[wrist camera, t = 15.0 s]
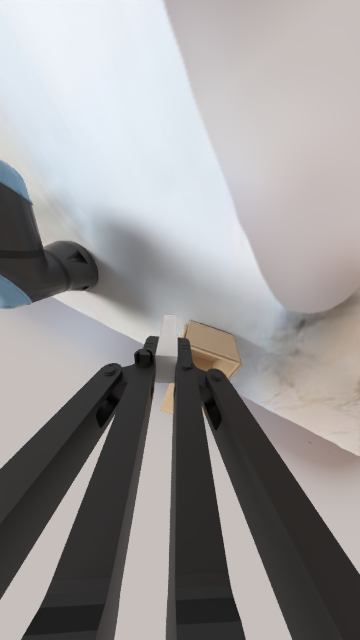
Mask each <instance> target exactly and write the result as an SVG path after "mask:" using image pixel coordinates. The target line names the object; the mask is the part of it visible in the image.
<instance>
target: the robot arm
mask: <svg viewBox="0 0 360 640" xmlns="http://www.w3.org/2000/svg"><path fill="white" fill-rule="evenodd" d="M32 205H33V203H32V201H31V200H30V198H29V195H28V192H27V189H26V185H25V182H24V180H23V178H22V177H21V176H20V174H19V173H18V172H17V171H16V170H15V169H14V168H12V167H11V166H10V165H8V164H7V163H5V162H4V161H2V160H0V308H1V309H13V308H17V307H20V306H24V305H30V304H31V303H33V302H36V301H39V300H42V299H44V298H48V297H50V296H53V295H56V294H59V293H62V292H65V291H85V290H88V289H90V288H93V287H94V286H95V285H96V283H97V280H98V271H97V267H96V265H95V262H94V261H93V259H92V257H91V256H90V254H89V253H88V252H87V251H86V250H85V249H84V248H83V247H81V246H80V245H78V244H77V243H74V242H72V241H56V242H54V243H51V244H49V245H47V246H45V247H43V245H42V242H41V238H40V234H39V231H38V227H37V223H36V219H35V216H34V212H33V208H32ZM134 357H135V364H133V365H130V366H126V367H121V366H120V365H119V364H117V363H112V364H108V365H105V366H104V367H102V368H101V369H100V370H99V371H98V372H97V373H96V374H95V375H94V376H93V377H92V378H91V379H90V380H89V381H88V382H87V383H86V384H85V385H84V386H83V387H82V388H81V389H80V390H79V391H78V392H77V393H76V394H75V395H74V396H73V397H72V398H71V399H70V400H69V401H68V402H67V403H66V404H65V405H64V406H63V407H62V408H61V409H60V410H59V411H58V412H57V413H56V414H55V415H54V416H53V417H52V418H51V419H50V420H49V421H48V422H47V423H46V424H45V425H44V426H43V427H42V428H41V429H40V430H39V431H38V432H37V433H36V434H35V435H34V436H33V437H32V438H31V439H30V440H29V441H28V442H27V443H26V444H25V445H24V446H23V447H22V448H21V449H20V450H19V451H18V452H17V453H16V454H15V455H14V456H13V457H12V458H11V459H10V460H9V461H8V462H7V463H6V464H5V465H4V466H3V467H2V468H1V469H0V599H1V598H2V596H3V594H4V593H5V591H6V590H7V588H8V586H9V585H10V583H11V581H12V580H13V578H14V577H15V575H16V573H17V572H18V570H19V569H20V567H21V565H22V564H23V562H24V560H25V559H26V557H27V556H28V554H29V552H30V551H31V549H32V548H33V546H34V544H35V543H36V541H37V539H38V538H39V536H40V535H41V533H42V531H43V530H44V528H45V526H46V525H47V523H48V522H49V520H50V518H51V517H52V515H53V514H54V512H55V510H56V509H57V507H58V505H59V504H60V502H61V500H62V499H63V497H64V496H65V494H66V493H67V491H68V489H69V488H70V486H71V484H72V483H73V481H74V480H75V478H76V476H77V475H78V473H79V472H80V470H81V468H82V467H83V465H84V463H85V462H86V460H87V459H88V457H89V455H90V454H91V452H92V451H93V449H94V447H95V446H96V444H97V442H98V441H99V439H100V437H101V436H102V434H103V433H104V431H105V430H106V428H107V426H108V425H109V423H110V421H111V420H112V418H113V417H114V415H115V417H114V420H113V422H112V425H111V427H110V430H109V432H108V435H107V438H106V440H105V443H104V445H103V448H102V451H101V453H100V456H99V458H98V461H97V464H96V467H95V469H94V472H93V474H92V477H91V479H90V482H89V485H88V487H87V490H86V493H85V495H84V498H83V500H82V503H81V506H80V508H79V511H78V513H77V516H76V518H75V521H74V524H73V526H72V529H71V532H70V534H69V537H68V539H67V542H66V544H65V547H64V550H63V552H62V555H61V558H60V560H59V563H58V565H57V568H56V571H55V573H54V576H53V578H52V581H51V583H50V586H49V588H48V591H47V593H46V596H45V598H44V600H43V602H42V604H41V606H40V608H39V610H38V611H37V613H36V615H35V616H34V618H33V620H32V622H31V623H30V625H29V627H28V628H27V630H26V632H25V634H24V635H23V637H22V639H21V640H114V636H115V630H116V623H117V616H118V609H119V598H120V591H121V584H122V578H123V572H124V565H125V560H126V554H127V548H128V542H129V536H130V529H131V524H132V518H133V511H134V506H135V500H136V494H137V488H138V482H139V476H140V471H141V465H142V458H143V453H144V447H145V440H146V435H147V429H148V423H149V417H150V411H151V405H152V399H153V393H154V382H159V383H160V382H161V383H174V393H173V397H174V401H173V436H172V472H171V473H172V475H171V508H170V545H169V580H168V600H167V618H166V640H246V639H245V635H244V631H243V627H242V623H241V619H240V616H239V613H238V610H237V607H236V604H235V601H234V598H233V593H232V589H231V585H230V579H229V574H228V568H227V562H226V555H225V549H224V543H223V537H222V531H221V524H220V518H219V512H218V505H217V499H216V493H215V487H214V480H213V474H212V467H211V461H210V455H209V449H208V442H207V436H206V430H205V423H204V417H203V411H202V408H203V410H204V413H205V415H206V418H207V420H208V423H209V426H210V428H211V431H212V433H213V436H214V439H215V441H216V444H217V446H218V449H219V451H220V454H221V457H222V459H223V462H224V464H225V467H226V470H227V472H228V474H229V477H230V480H231V482H232V485H233V488H234V490H235V493H236V495H237V498H238V500H239V503H240V505H241V508H242V511H243V513H244V516H245V519H246V521H247V524H248V526H249V529H250V531H251V534H252V536H253V539H254V542H255V544H256V547H257V550H258V552H259V555H260V557H261V560H262V562H263V565H264V568H265V570H266V573H267V575H268V578H269V581H270V583H271V586H272V588H273V591H274V593H275V596H276V599H277V601H278V604H279V606H280V609H281V611H282V614H283V617H284V619H285V622H286V624H287V627H288V630H289V632H290V635H291V637H292V640H360V574H359V573H358V571H357V570H356V568H355V567H354V565H353V564H352V562H351V561H350V559H349V558H348V556H347V555H346V554H345V552H344V551H343V549H342V548H341V546H340V545H339V543H338V542H337V540H336V539H335V537H334V536H333V534H332V533H331V531H330V530H329V528H328V527H327V525H326V524H325V522H324V521H323V519H322V518H321V517H320V515H319V513H318V512H317V510H316V509H315V507H314V506H313V504H312V503H311V501H310V500H309V498H308V497H307V496H306V494H305V493H304V491H303V490H302V488H301V487H300V485H299V484H298V482H297V481H296V479H295V478H294V476H293V475H292V473H291V472H290V471H289V469H288V467H287V466H286V464H285V463H284V461H283V460H282V458H281V457H280V455H279V454H278V452H277V451H276V449H275V448H274V446H273V445H272V444H271V442H270V441H269V439H268V438H267V436H266V435H265V433H264V432H263V430H262V429H261V427H260V426H259V424H258V423H257V421H256V420H255V418H254V417H253V415H252V414H251V412H250V411H249V409H248V408H247V406H246V405H245V403H244V402H243V400H242V399H241V397H240V396H239V394H238V393H237V391H236V390H235V388H234V387H233V386H232V384H231V383H230V381H229V380H228V378H227V377H226V375H225V374H224V373H223V372H222V371H221V370H219V369H216V368H211V369H209V370H208V371H204V370H201V369H199V368H197V367H196V366H195V364H194V363H193V360H192V353H191V346H190V341H189V340H188V339H187V338H177V316H175V315H164V318H163V322H162V327H161V332H160V336H159V337H156V336H149V337H148V338H147V339H146V342H145V344H144V347H143V349H139V350H138V351H136V352H135V354H134ZM115 413H116V414H115Z"/></svg>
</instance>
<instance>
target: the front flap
mask: <svg viewBox="0 0 360 640" xmlns="http://www.w3.org/2000/svg"><path fill="white" fill-rule="evenodd" d="M173 393H174V383H170V385H169V388H168V391H167V393H166V396H165V399H164V402H163V405H162V407H161V410H162V411H165V412H167V413H170V414H173V401H174V397H173ZM202 411H203V417H204V415H205V413H204V410H203V408H202Z"/></svg>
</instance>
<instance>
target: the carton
mask: <svg viewBox="0 0 360 640" xmlns="http://www.w3.org/2000/svg"><path fill="white" fill-rule="evenodd" d="M186 328H187V329H186ZM181 338H187V339H188V340H189V341H190V346H191V353H192V360H193V363H194V364H195V366H196V367H197V368H199V369H201V370H204V371H208V370H209V369H211V368H216V369H219V370H221V371H222V372H223V373H224V374H225V375H226V377H227V378H228V380H230V379H231V378H232V377H233V376H234V375H235V374H236V372H237V371H238V370H239V369H240V368H241V367H242V363H241V359H240V356H239V352H238V349H237V345H236V342H235V340H234V337H233V335H231V334H228V333H225V332H222V331H220V330H217V329H214V328H211V327H208V326H205V325H202V324H200V323H197V322H194V321H191V320H190V321H189V324H188V326H187V323H186V325H185V328H184V330H183V333H182V336H181Z"/></svg>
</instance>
